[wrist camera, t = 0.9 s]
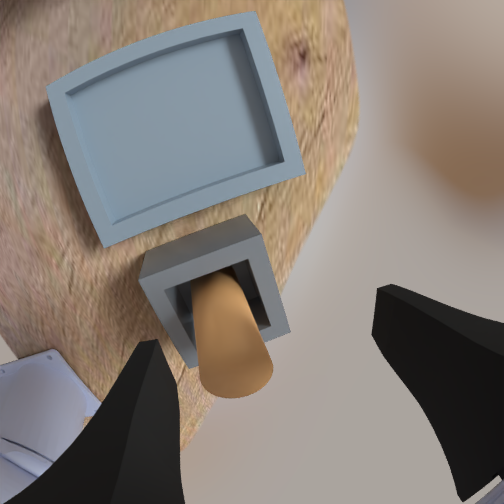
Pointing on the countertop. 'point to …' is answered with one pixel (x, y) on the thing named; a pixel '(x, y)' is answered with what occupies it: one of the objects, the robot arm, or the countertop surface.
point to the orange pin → (227, 337)
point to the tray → (175, 125)
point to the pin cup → (206, 261)
